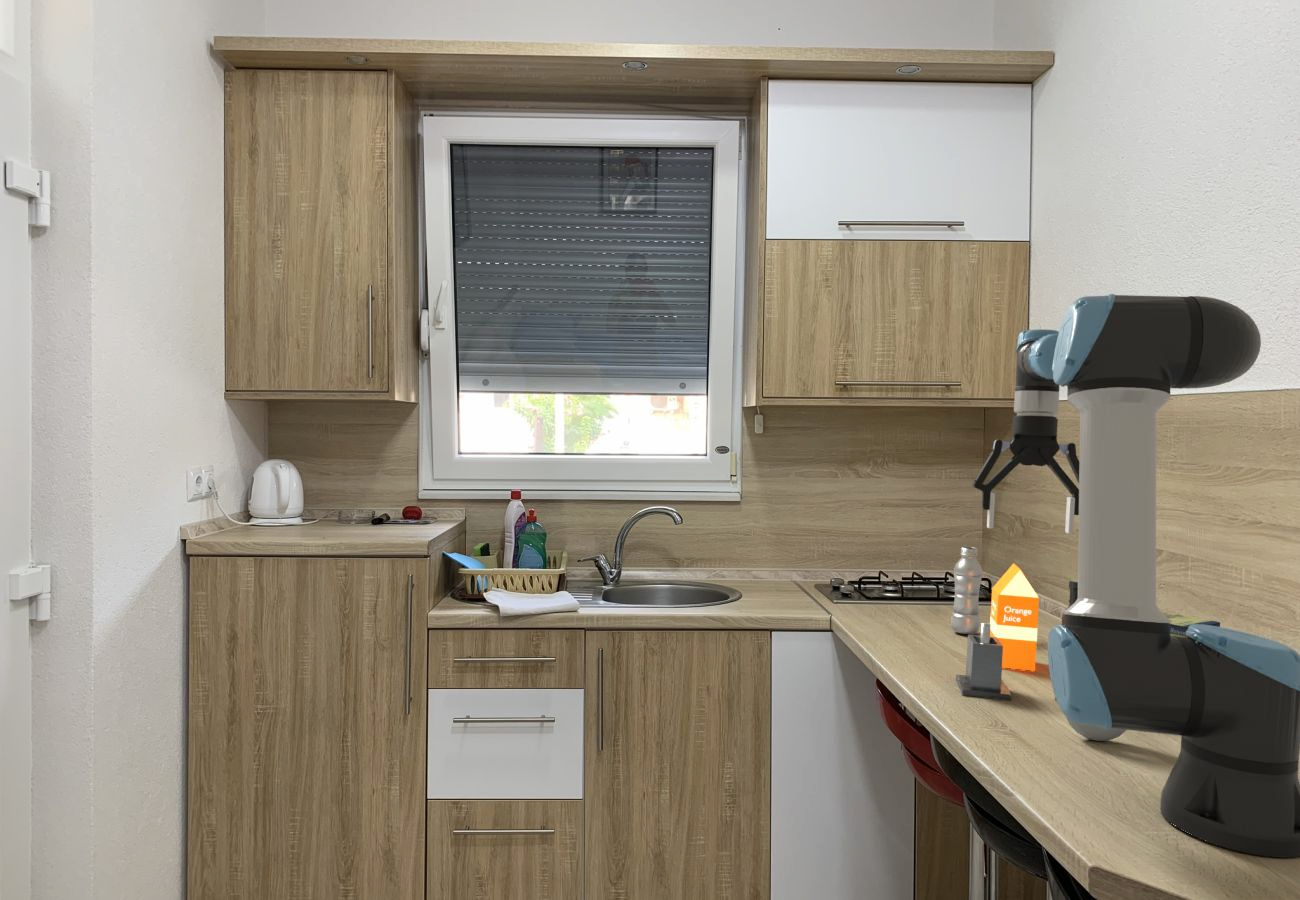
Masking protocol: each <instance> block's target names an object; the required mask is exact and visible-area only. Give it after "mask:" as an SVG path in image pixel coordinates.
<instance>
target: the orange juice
mask: <svg viewBox="0 0 1300 900" xmlns="http://www.w3.org/2000/svg"><path fill="white" fill-rule="evenodd" d="M990 602H991V603H990V616H989V617H990V618H989V623H990V624H991V628H990V637H997V638H998V640H999V641H1000V642H1001V644H1002V645H1003V658H1002V667H1003V668H1002V669H1005V668H1011V669H1010V670H1015V669H1021V670H1020V671H1025V670H1031V671H1030V672H1034V671H1035V672H1036V656H1037V642H1038V622H1039V621H1038V620H1039V607H1040V606H1039V603H1040V597H1039V595H1038V594H1037V592H1036V591H1035V589H1034V588H1033V587H1032V585H1031V584H1030V582H1029V580H1028V579H1027V577H1026V576H1025V574H1024V572H1023V571H1022V569H1021V568H1020V567H1019V566H1017V565H1016V564H1015V563H1014V562H1013V563H1012V564H1011V566H1010V567H1009V568H1008V569H1007V571H1006V572H1005V573H1004V574H1003V575H1002V576H1001V577H1000V579H999V580H998V581H997V582H996V584H995V585H994V586H992V588H991V601H990Z"/></svg>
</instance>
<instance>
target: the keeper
mask: <svg viewBox="0 0 1300 900" xmlns="http://www.w3.org/2000/svg"><path fill="white" fill-rule="evenodd" d="M990 628H991V624H990V622H980V635H979V636H980V643H986V644H990ZM955 682H956V683H957V686H958V688H959V691H960V690H961V691H960V694H961V695H962V696H965V695H969V696H968V697H974V696H979V697H978V698H984V697H987V698H986V699H993V698H997V699H996V700H1003V699H1005V700H1004V701H1011V700H1012V694H1011V692H1010V690H1009V689H1008V687H1007V686H1006V683H1005V682H1004V680H1003V679H1002V678H1001V691H993V690H984V689H974V688H970V686H969V684H968V682H967V679H966V674H965V675H964V674H955Z"/></svg>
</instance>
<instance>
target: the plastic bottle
mask: <svg viewBox="0 0 1300 900" xmlns="http://www.w3.org/2000/svg"><path fill="white" fill-rule="evenodd" d="M959 555H960V556H961V558H959V560H958V561H957V562H956V563H955V565H954V566H953V567H954V568H953V580H954V601H953V609H952V613H951V618H950V628H951V629H952V631H953V632H955V633H958V634H961V635H964V634H968V635H976V634H977V633H978V632H979V631H980V628H981V619H980V615H979V614H980V613H979V612H980V611H979V610H980V609H979V597H980V596H979V595H980V589H981V588H980V587H981V583H982V578H983V568H982V566H981V564H980V563H979V561H978V559H977V557H978V556H979V555H978V548H976V547H972V546H962V547H960V554H959Z"/></svg>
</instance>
